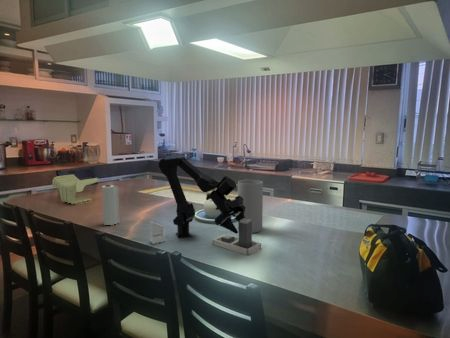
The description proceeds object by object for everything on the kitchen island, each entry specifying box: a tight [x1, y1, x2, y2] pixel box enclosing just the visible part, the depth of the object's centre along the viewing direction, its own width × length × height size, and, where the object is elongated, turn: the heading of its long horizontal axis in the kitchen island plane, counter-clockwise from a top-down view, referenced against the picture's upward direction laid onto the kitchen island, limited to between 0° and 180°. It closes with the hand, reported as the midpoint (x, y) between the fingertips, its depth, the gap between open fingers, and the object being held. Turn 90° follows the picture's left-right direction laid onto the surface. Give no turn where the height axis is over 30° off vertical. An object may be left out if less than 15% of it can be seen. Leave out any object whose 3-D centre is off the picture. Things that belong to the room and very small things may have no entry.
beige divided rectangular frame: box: [212, 233, 262, 256], centre depth 138 cm, size 20×10×3 cm, turn 51°
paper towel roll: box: [101, 184, 121, 226], centre depth 168 cm, size 7×6×21 cm
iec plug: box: [238, 218, 253, 249], centre depth 135 cm, size 4×4×13 cm
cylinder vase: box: [237, 179, 264, 234], centre depth 159 cm, size 12×12×25 cm
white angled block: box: [149, 220, 166, 245], centre depth 144 cm, size 4×10×9 cm, turn 126°
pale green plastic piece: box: [52, 173, 99, 205], centre depth 220 cm, size 30×16×18 cm, turn 56°
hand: (242, 230), depth 135 cm, fingers open, 9 cm apart
